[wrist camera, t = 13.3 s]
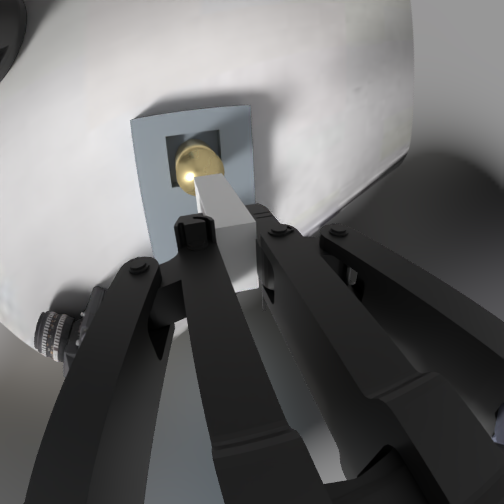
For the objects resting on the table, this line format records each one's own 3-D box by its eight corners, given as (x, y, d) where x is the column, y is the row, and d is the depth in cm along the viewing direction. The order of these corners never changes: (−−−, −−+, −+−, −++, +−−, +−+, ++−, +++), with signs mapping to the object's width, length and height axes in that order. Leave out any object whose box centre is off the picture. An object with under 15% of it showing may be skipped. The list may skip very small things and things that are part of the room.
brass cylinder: (172, 142, 29) (172, 154, 22) (209, 136, 30) (221, 146, 23) (178, 178, 31) (180, 200, 24) (214, 171, 32) (227, 191, 25)
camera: (47, 269, 33) (22, 317, 24) (120, 291, 37) (112, 343, 29) (45, 342, 37) (31, 390, 29) (106, 359, 42) (102, 409, 33)
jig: (133, 118, 28) (121, 123, 21) (243, 105, 30) (265, 105, 23) (159, 264, 36) (158, 303, 30) (251, 248, 39) (270, 282, 32)
